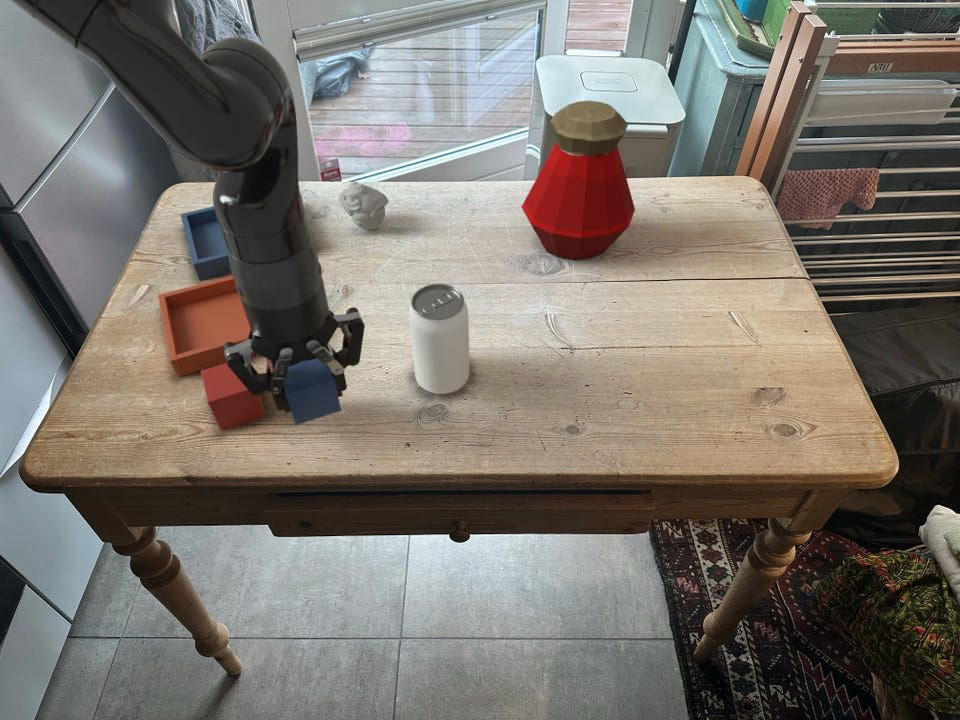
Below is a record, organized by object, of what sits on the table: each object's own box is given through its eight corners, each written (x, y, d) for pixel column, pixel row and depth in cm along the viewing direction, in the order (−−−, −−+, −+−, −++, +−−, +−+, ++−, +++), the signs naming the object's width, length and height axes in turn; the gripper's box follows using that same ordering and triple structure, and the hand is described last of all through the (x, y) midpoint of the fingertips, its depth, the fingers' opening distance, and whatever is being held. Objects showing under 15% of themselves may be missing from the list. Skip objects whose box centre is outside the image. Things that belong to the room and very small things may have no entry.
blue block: (295, 425, 72) (286, 395, 68) (285, 392, 75) (275, 361, 71) (341, 410, 73) (334, 380, 69) (329, 378, 76) (322, 348, 72)
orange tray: (178, 377, 80) (170, 361, 78) (165, 310, 88) (157, 294, 86) (306, 338, 85) (302, 322, 83) (283, 278, 93) (279, 262, 90)
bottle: (519, 271, 94) (526, 138, 79) (519, 214, 103) (526, 85, 88) (633, 274, 93) (662, 141, 78) (623, 216, 102) (647, 87, 88)
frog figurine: (345, 215, 102) (338, 175, 97) (391, 213, 103) (387, 172, 98) (343, 240, 98) (335, 199, 93) (391, 237, 99) (386, 196, 94)
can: (404, 374, 81) (394, 299, 72) (445, 347, 84) (441, 272, 75) (438, 405, 77) (433, 331, 69) (480, 376, 80) (480, 302, 72)
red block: (220, 430, 75) (207, 402, 71) (213, 399, 78) (200, 370, 74) (265, 416, 76) (255, 387, 73) (256, 385, 80) (246, 356, 76)
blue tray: (199, 280, 92) (193, 264, 90) (186, 229, 100) (180, 213, 98) (311, 251, 97) (307, 235, 95) (290, 204, 104) (286, 188, 102)
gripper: (344, 237, 66) (365, 357, 78) (191, 274, 61) (239, 395, 74) (368, 283, 61) (385, 403, 73) (204, 327, 57) (252, 446, 69)
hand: (312, 398), depth 74 cm, fingers closed on blue block, 5 cm apart
